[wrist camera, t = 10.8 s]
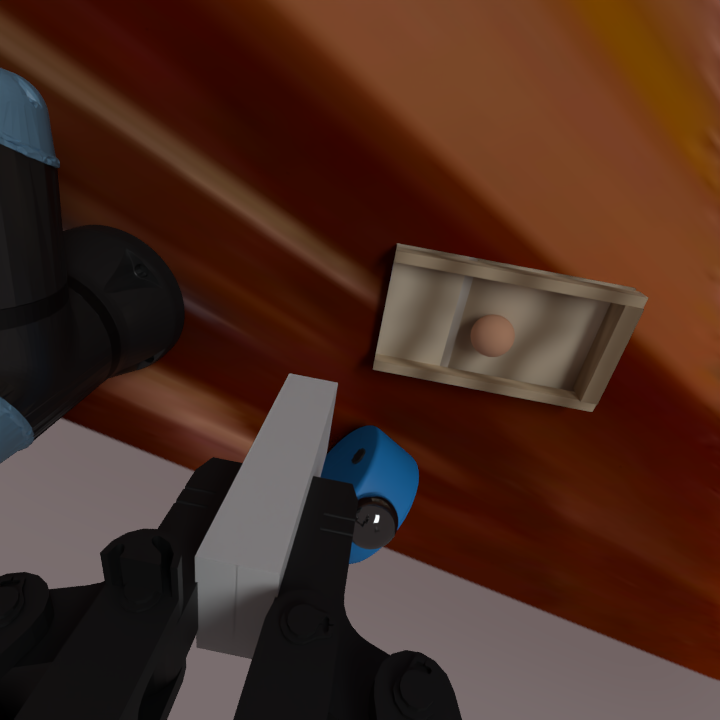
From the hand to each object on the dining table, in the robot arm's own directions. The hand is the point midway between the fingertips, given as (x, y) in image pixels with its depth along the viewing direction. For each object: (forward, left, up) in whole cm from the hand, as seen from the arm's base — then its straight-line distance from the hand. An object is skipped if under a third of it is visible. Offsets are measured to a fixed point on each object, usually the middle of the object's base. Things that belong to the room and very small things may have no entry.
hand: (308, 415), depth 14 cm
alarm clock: (+3, -26, -31) cm, 40 cm away
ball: (+12, -7, -28) cm, 31 cm away
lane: (+13, -7, -30) cm, 34 cm away
